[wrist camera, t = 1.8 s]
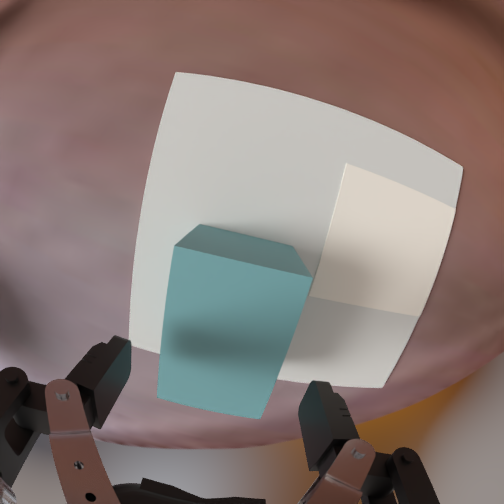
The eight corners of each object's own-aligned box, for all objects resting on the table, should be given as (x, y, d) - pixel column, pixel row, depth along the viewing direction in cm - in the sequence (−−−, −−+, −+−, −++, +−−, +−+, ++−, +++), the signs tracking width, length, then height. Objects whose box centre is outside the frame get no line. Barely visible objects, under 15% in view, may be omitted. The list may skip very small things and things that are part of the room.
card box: (199, 223, 17) (174, 245, 11) (292, 245, 17) (313, 277, 12) (178, 343, 19) (156, 397, 13) (257, 361, 20) (260, 419, 14)
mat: (178, 75, 15) (175, 71, 14) (458, 167, 17) (464, 167, 16) (131, 340, 20) (128, 345, 19) (379, 384, 21) (382, 388, 21)
